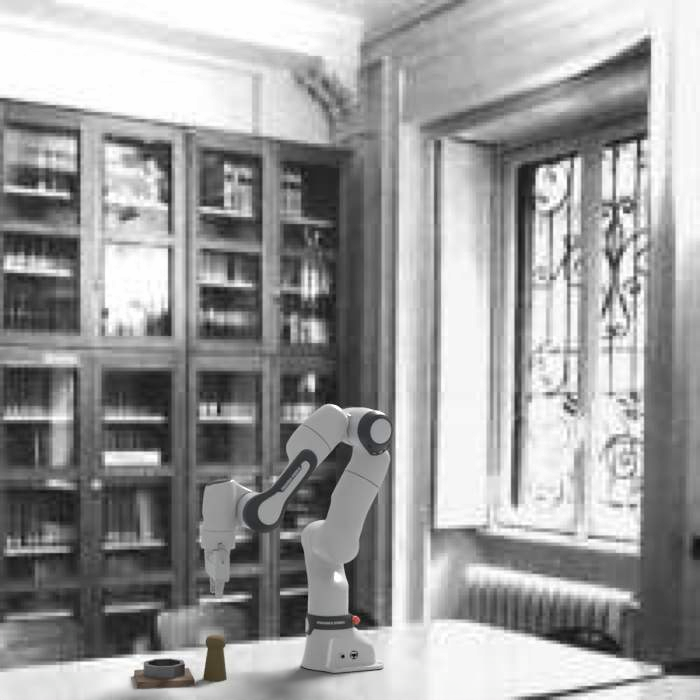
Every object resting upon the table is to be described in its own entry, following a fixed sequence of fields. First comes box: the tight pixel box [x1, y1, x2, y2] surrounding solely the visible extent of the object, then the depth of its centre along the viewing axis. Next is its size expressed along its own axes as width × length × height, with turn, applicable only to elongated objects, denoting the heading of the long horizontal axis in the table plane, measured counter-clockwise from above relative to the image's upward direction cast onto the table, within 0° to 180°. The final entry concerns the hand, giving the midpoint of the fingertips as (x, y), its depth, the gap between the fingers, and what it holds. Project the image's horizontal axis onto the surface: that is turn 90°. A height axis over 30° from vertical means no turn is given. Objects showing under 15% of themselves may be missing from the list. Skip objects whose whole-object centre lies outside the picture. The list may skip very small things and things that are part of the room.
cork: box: [202, 634, 228, 682], centre depth 281 cm, size 6×6×11 cm
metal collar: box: [142, 657, 186, 679], centre depth 278 cm, size 10×10×3 cm
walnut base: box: [133, 667, 195, 689], centre depth 277 cm, size 14×14×2 cm
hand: (216, 595), depth 282 cm, fingers open, 8 cm apart
